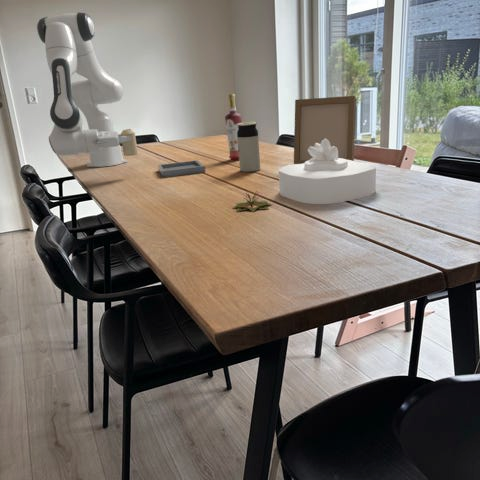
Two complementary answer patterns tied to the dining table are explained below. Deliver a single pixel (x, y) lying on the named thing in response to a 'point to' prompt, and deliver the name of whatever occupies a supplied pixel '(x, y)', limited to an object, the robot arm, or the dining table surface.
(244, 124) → the travel mug
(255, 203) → the olive green leafy cluster
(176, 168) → the dish
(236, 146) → the liquor
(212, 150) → the dining table surface
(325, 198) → the tissue box
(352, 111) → the photo frame
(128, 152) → the candle
